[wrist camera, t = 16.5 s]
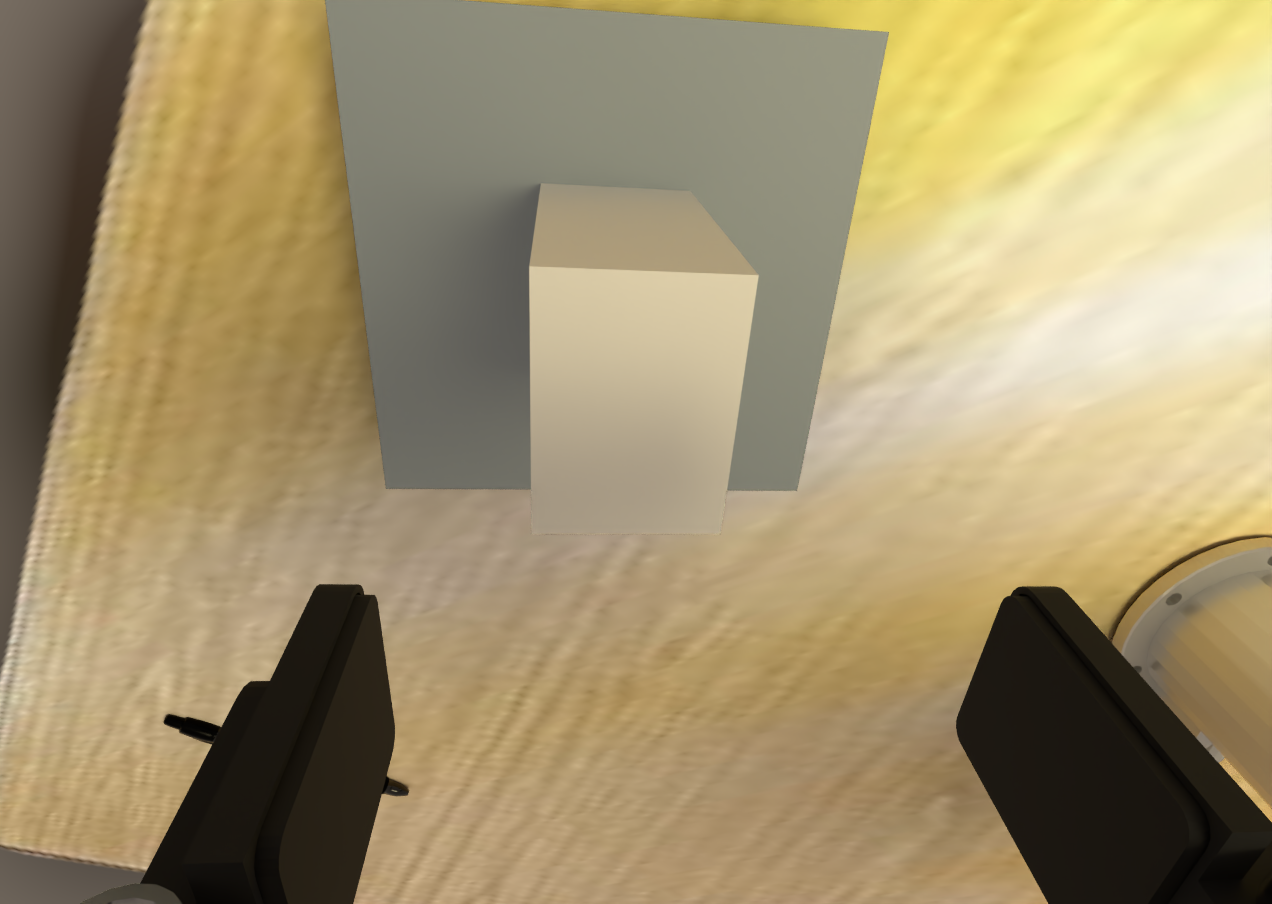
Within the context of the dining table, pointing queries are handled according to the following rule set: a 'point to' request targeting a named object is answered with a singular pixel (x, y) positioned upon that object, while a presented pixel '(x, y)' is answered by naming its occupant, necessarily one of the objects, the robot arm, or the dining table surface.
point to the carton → (633, 361)
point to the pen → (210, 731)
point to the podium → (593, 156)
